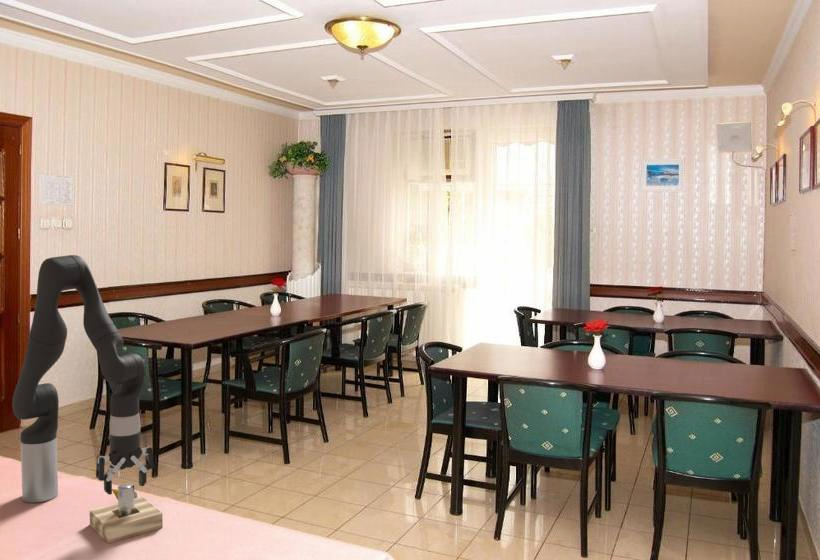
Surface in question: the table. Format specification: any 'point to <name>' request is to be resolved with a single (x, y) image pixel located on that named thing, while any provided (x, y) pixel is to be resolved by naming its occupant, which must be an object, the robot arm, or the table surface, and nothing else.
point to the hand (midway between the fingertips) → (125, 489)
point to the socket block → (125, 521)
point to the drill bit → (117, 493)
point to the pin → (126, 500)
